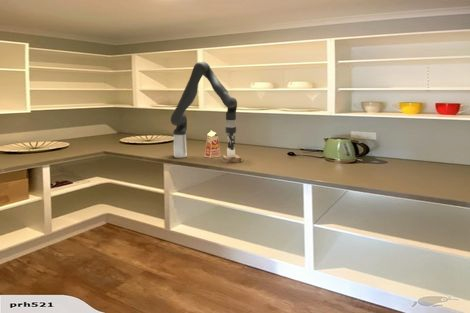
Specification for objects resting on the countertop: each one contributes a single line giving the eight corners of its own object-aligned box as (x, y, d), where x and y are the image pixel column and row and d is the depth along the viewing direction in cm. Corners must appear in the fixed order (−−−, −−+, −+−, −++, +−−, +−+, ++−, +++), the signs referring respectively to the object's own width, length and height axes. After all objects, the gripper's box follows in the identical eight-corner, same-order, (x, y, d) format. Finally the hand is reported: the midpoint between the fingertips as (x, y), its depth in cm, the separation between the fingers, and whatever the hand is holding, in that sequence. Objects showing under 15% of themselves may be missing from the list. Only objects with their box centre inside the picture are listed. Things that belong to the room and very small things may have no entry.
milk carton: (204, 156, 290) (203, 130, 286) (214, 155, 295) (214, 129, 291) (211, 158, 282) (210, 131, 279) (221, 156, 288) (220, 130, 284)
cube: (228, 157, 269) (228, 149, 268) (226, 156, 274) (226, 147, 273) (235, 157, 270) (235, 148, 269) (233, 155, 275) (233, 147, 274)
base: (224, 162, 266) (224, 158, 265) (221, 159, 277) (221, 155, 277) (241, 161, 268) (241, 157, 268) (237, 158, 280) (237, 154, 279)
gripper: (223, 125, 274) (223, 147, 277) (227, 127, 260) (227, 150, 264) (233, 124, 276) (233, 147, 279) (238, 127, 262) (238, 150, 265)
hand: (230, 148), depth 271 cm, fingers open, 8 cm apart
